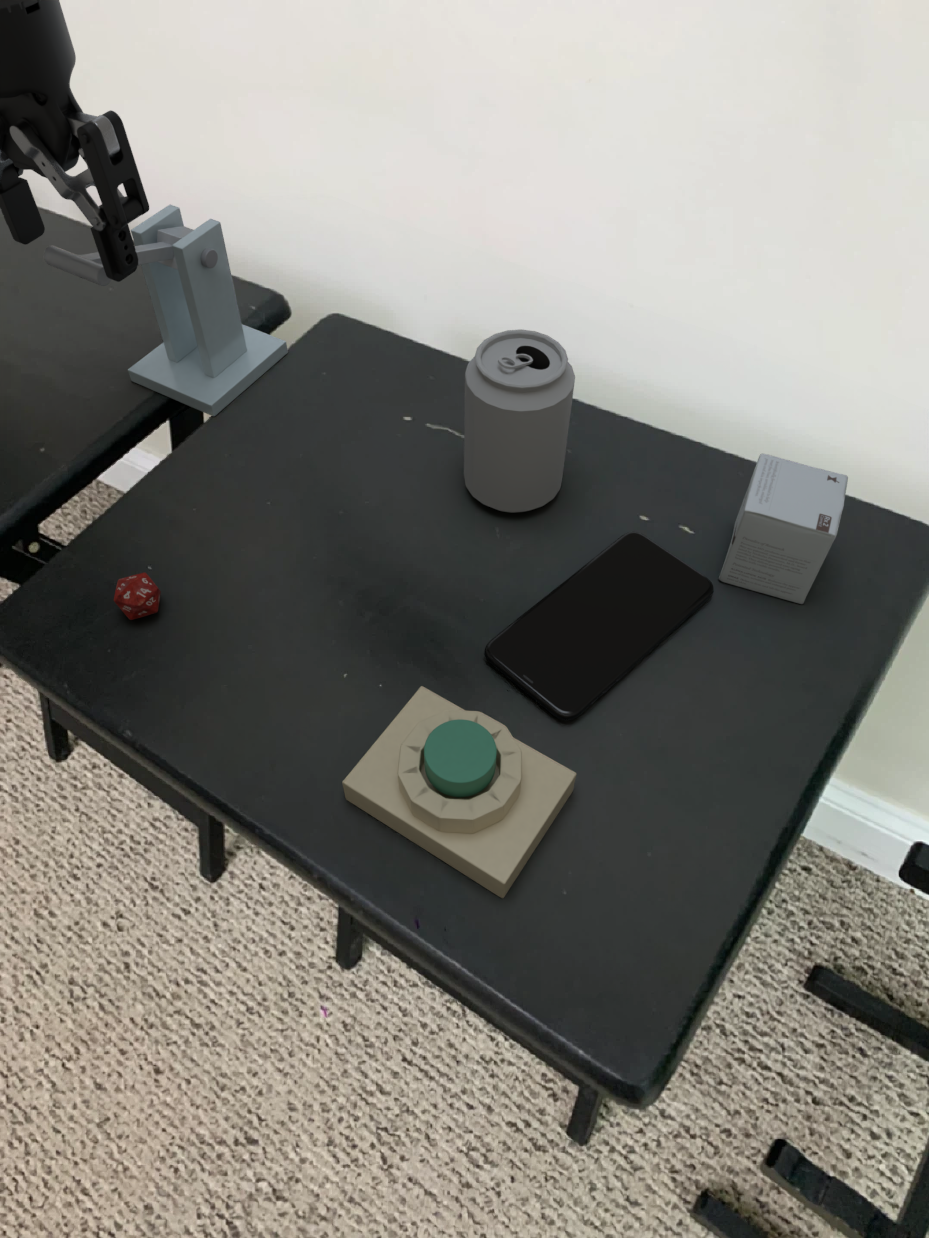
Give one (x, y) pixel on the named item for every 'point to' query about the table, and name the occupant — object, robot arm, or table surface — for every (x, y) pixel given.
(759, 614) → the table surface
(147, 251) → the flush lever
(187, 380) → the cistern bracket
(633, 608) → the smartphone
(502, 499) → the can
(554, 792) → the green push button box
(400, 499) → the table surface
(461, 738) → the flush button
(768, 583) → the white cardboard box
